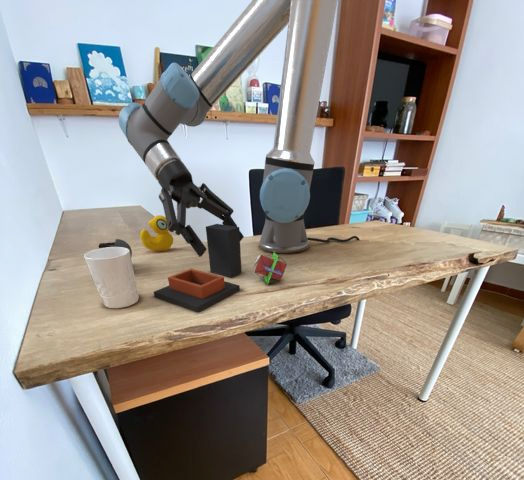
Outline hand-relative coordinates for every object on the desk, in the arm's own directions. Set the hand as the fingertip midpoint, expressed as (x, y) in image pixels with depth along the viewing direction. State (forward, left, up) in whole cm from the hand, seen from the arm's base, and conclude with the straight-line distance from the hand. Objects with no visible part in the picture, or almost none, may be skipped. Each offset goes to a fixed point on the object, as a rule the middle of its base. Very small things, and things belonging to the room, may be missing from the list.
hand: (223, 246), depth 71 cm
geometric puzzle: (-10, +8, -7) cm, 15 cm away
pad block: (0, 0, -6) cm, 7 cm away
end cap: (+27, -7, -7) cm, 28 cm away
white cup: (+22, +13, -7) cm, 27 cm away
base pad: (+7, +12, -6) cm, 15 cm away
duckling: (+18, -24, -7) cm, 31 cm away
